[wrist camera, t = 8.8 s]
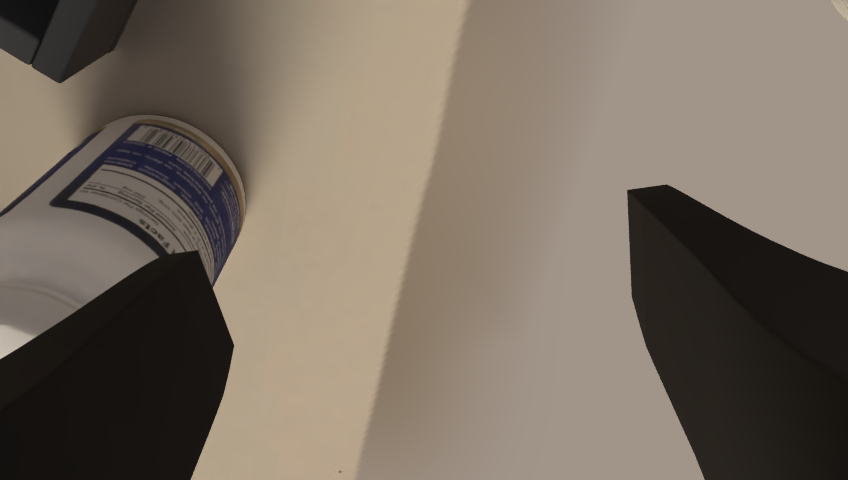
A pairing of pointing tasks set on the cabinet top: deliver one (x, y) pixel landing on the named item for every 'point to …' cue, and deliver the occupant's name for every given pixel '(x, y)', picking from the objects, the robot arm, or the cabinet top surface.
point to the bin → (62, 32)
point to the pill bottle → (114, 219)
